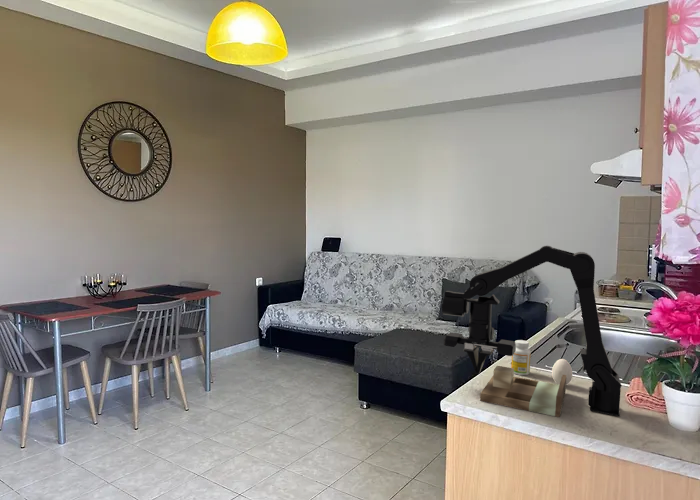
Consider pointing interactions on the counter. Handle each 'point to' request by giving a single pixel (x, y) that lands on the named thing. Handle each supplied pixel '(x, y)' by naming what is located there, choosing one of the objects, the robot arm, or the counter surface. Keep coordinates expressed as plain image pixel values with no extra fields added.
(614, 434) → the counter surface
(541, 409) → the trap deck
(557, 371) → the egg
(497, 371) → the birch block
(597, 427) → the counter surface
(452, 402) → the counter surface
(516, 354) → the supplement bottle
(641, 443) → the counter surface
